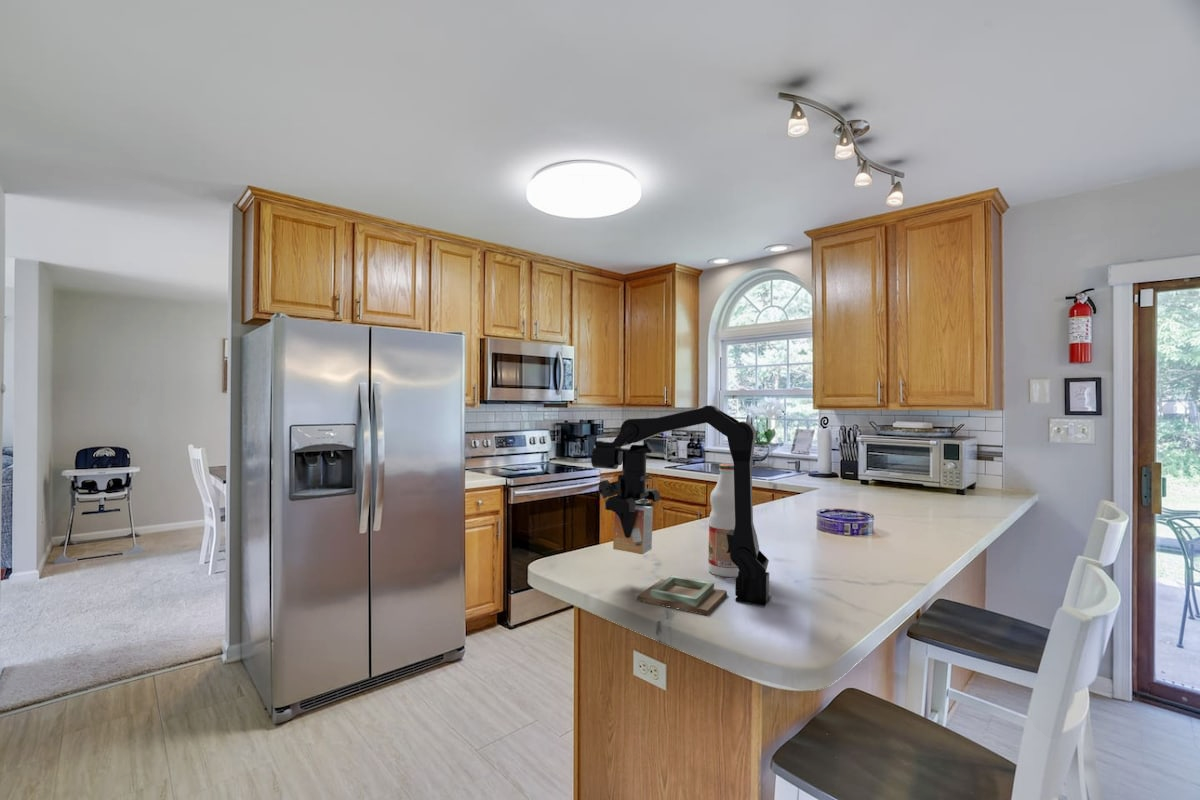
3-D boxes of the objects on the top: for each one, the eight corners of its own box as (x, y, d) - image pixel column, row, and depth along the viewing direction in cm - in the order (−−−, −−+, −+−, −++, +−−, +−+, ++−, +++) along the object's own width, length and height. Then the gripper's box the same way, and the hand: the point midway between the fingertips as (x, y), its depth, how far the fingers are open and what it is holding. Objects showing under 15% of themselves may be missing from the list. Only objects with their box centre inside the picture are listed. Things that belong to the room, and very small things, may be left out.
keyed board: (726, 595, 127) (726, 584, 127) (707, 615, 115) (707, 603, 115) (661, 582, 135) (662, 572, 135) (637, 600, 123) (637, 589, 123)
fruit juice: (730, 580, 138) (732, 467, 138) (700, 571, 145) (702, 463, 145) (752, 573, 144) (754, 465, 144) (723, 564, 151) (725, 461, 151)
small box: (612, 550, 134) (613, 506, 134) (622, 545, 139) (623, 502, 139) (643, 555, 130) (644, 509, 130) (652, 549, 135) (653, 506, 135)
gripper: (621, 464, 146) (620, 523, 146) (585, 471, 130) (584, 538, 130) (661, 467, 141) (659, 529, 141) (628, 475, 125) (627, 545, 125)
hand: (632, 535), depth 134 cm, fingers closed on small box, 6 cm apart
